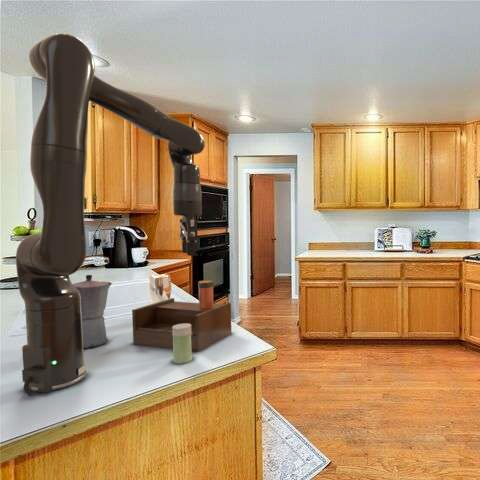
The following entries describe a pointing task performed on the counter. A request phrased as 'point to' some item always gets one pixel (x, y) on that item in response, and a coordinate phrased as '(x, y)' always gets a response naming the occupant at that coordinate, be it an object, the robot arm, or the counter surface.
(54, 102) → the robot arm
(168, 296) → the beer glass
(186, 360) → the cylinder
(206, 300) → the pepper shaker
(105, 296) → the moka pot
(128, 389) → the counter surface
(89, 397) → the counter surface
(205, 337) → the spice rack
